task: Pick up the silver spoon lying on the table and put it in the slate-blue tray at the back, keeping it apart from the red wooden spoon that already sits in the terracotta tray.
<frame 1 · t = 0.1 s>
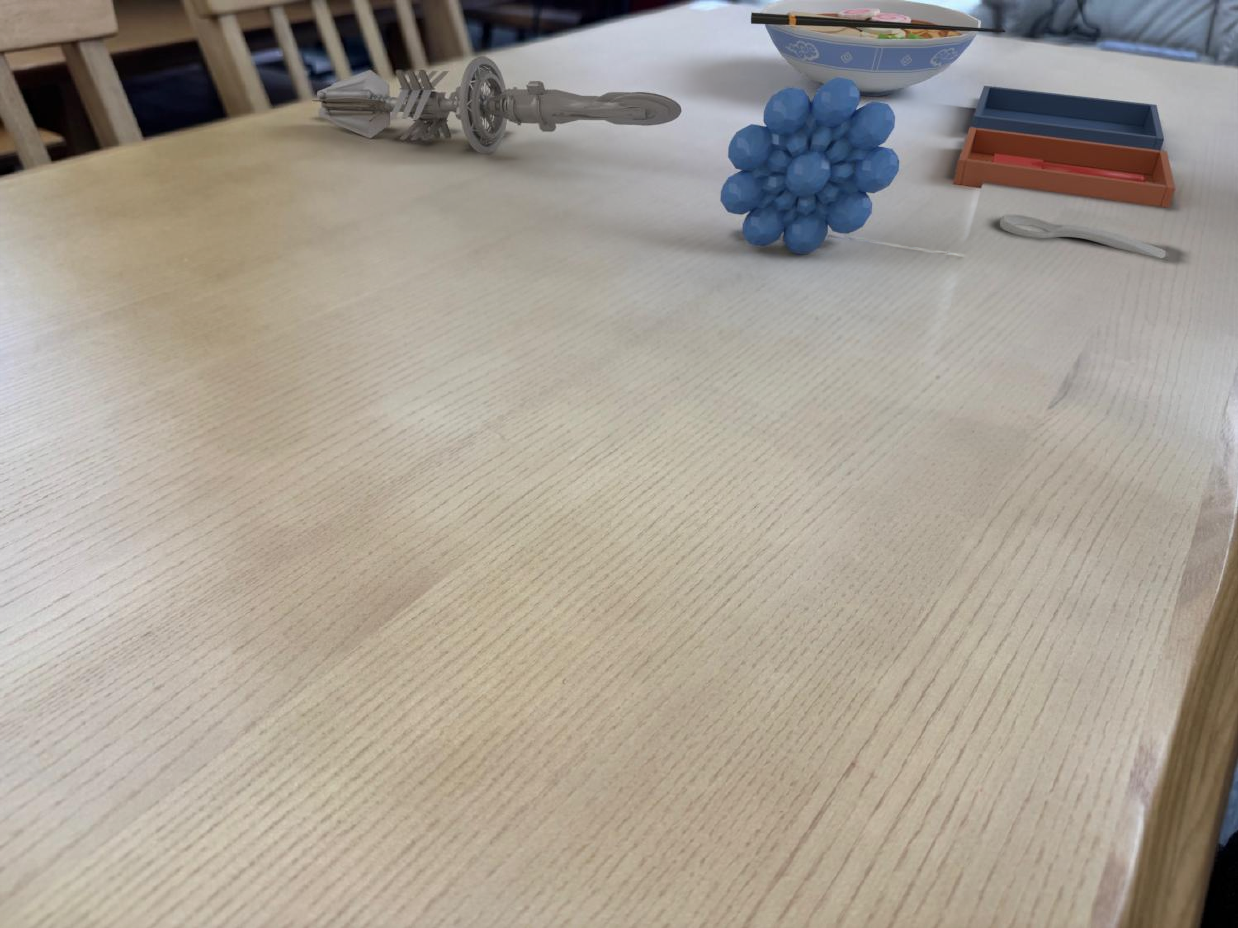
spaceship: (488, 154, 87), on the table
spoon: (1080, 254, 72), on the table
blue tray: (1060, 135, 95), on the table
ramen bowl: (858, 90, 108), on the table
blue beaded flower: (798, 251, 71), on the table
terracotta tray: (1056, 183, 84), on the table
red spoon: (1058, 179, 84), resting on terracotta tray
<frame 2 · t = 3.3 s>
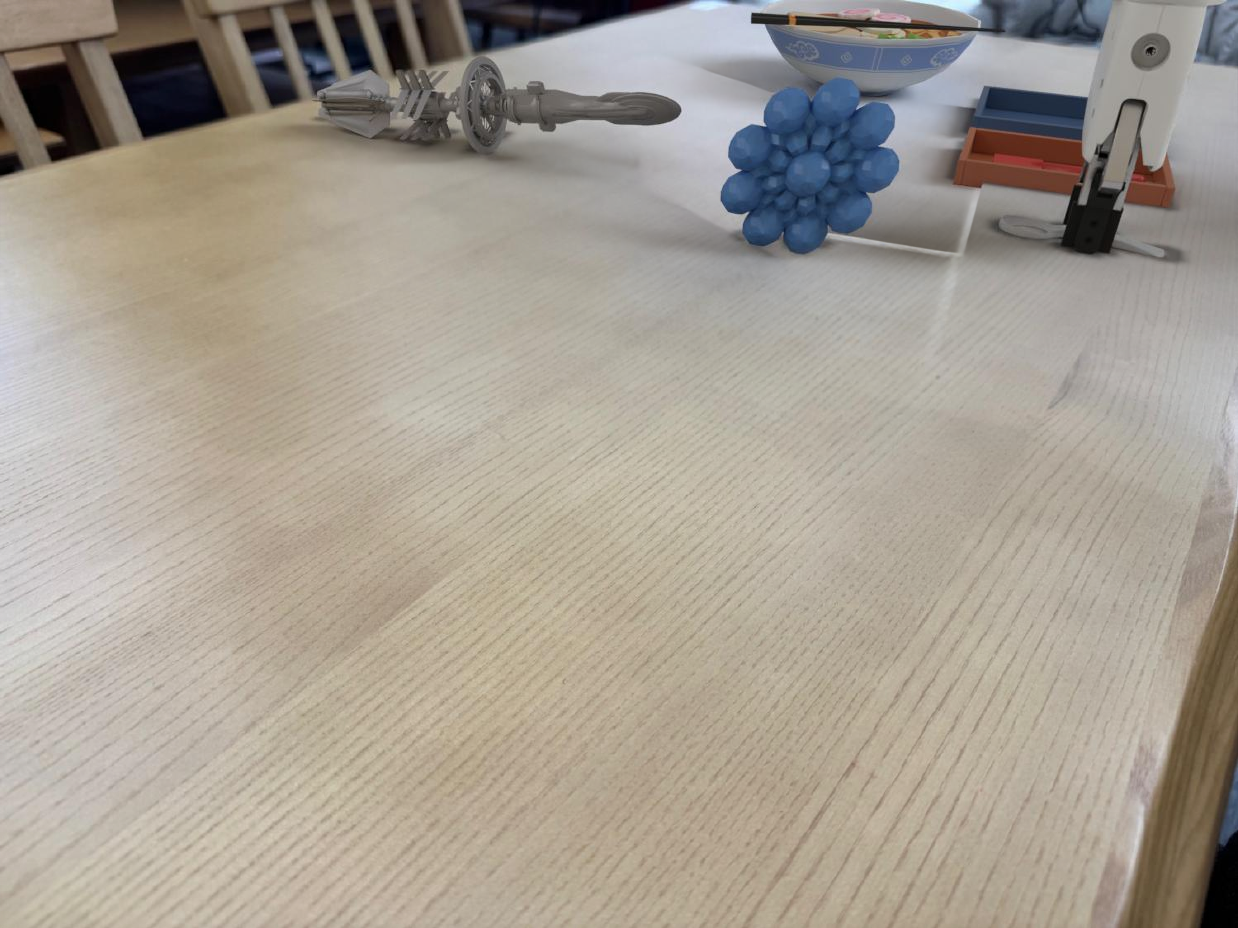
hand: (1082, 248, 72), 0 cm above the table, tool pointing down, fingers closed on spoon, 2 cm apart
spoon: (1080, 254, 72), on the table, touching gripper
everything else where it was.
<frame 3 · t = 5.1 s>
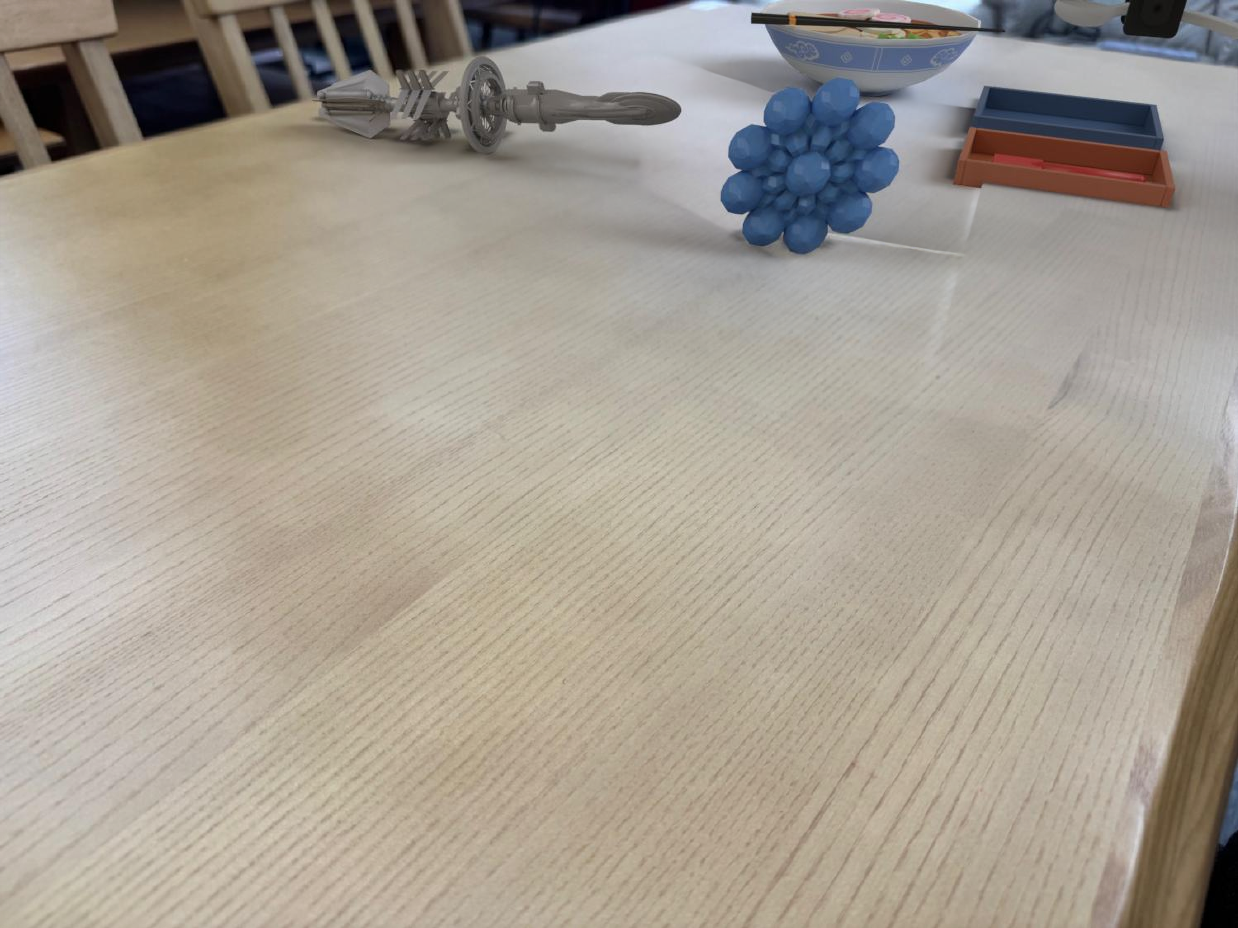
hand: (1147, 28, 66), 15 cm above the table, tool pointing down, fingers closed on spoon, 2 cm apart
spoon: (1144, 35, 66), point 14 cm above the table, touching gripper
everything else where it was.
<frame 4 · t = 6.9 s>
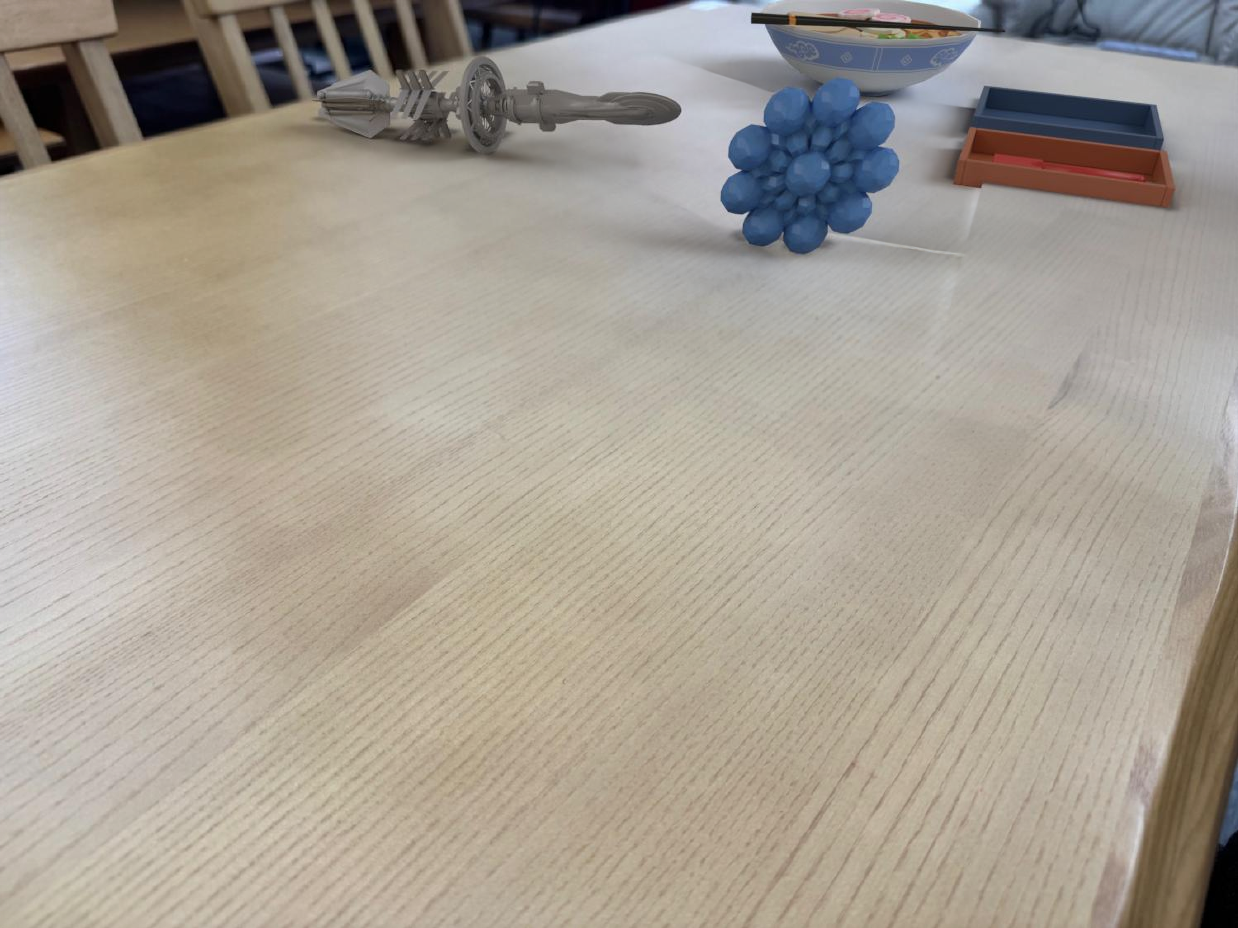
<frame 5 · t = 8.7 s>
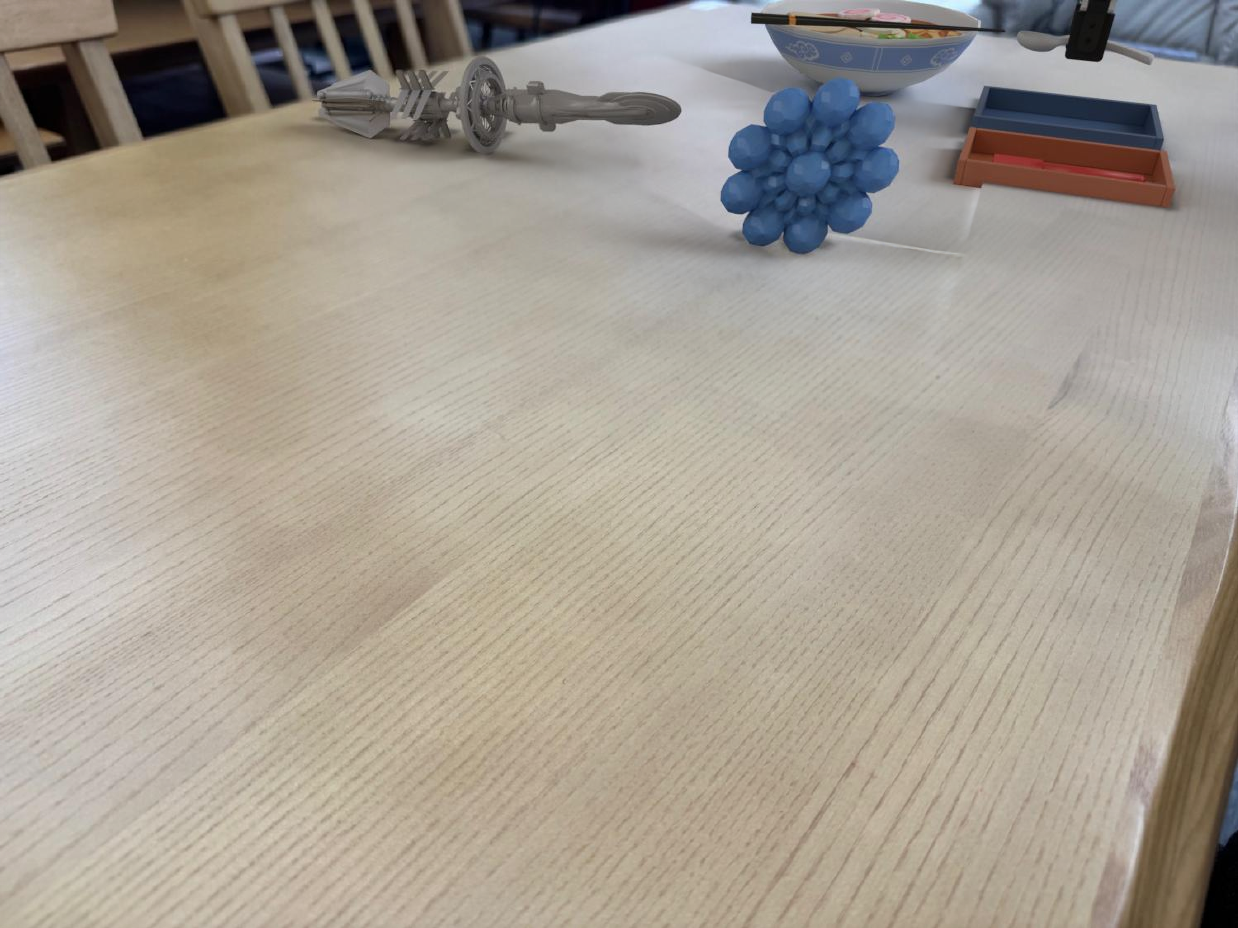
hand: (1083, 54, 91), 7 cm above the table, tool pointing down, fingers closed on spoon, 2 cm apart
spoon: (1080, 58, 91), point 7 cm above the table, touching gripper
everything else where it was.
when the fingers open (1 cm above the table, at t = 10.6 s): spoon stays where it is, resting on blue tray.
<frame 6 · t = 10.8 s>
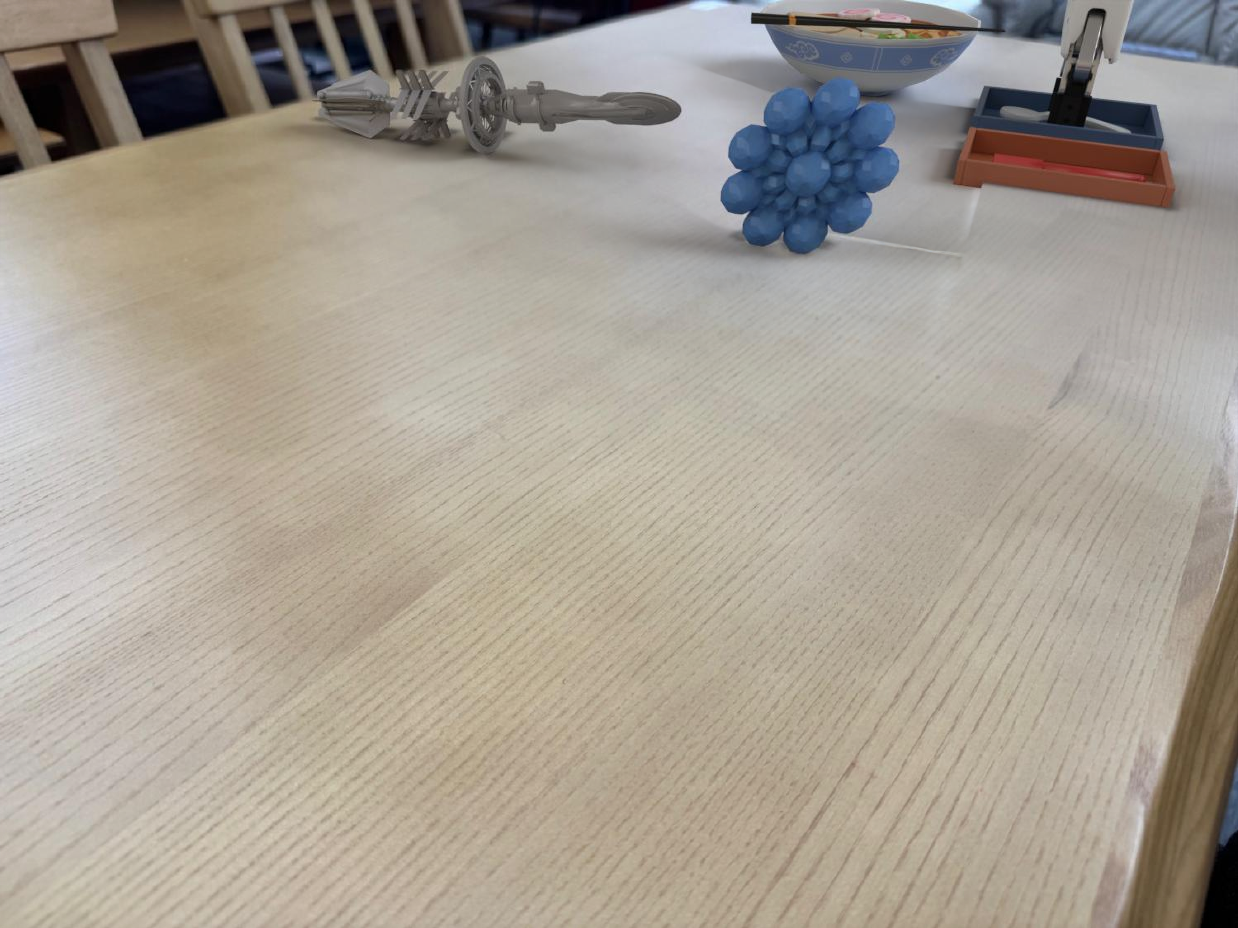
hand: (1062, 128, 95), 1 cm above the table, tool pointing down, fingers open, 5 cm apart
spoon: (1061, 133, 95), resting on blue tray
everything else where it was.
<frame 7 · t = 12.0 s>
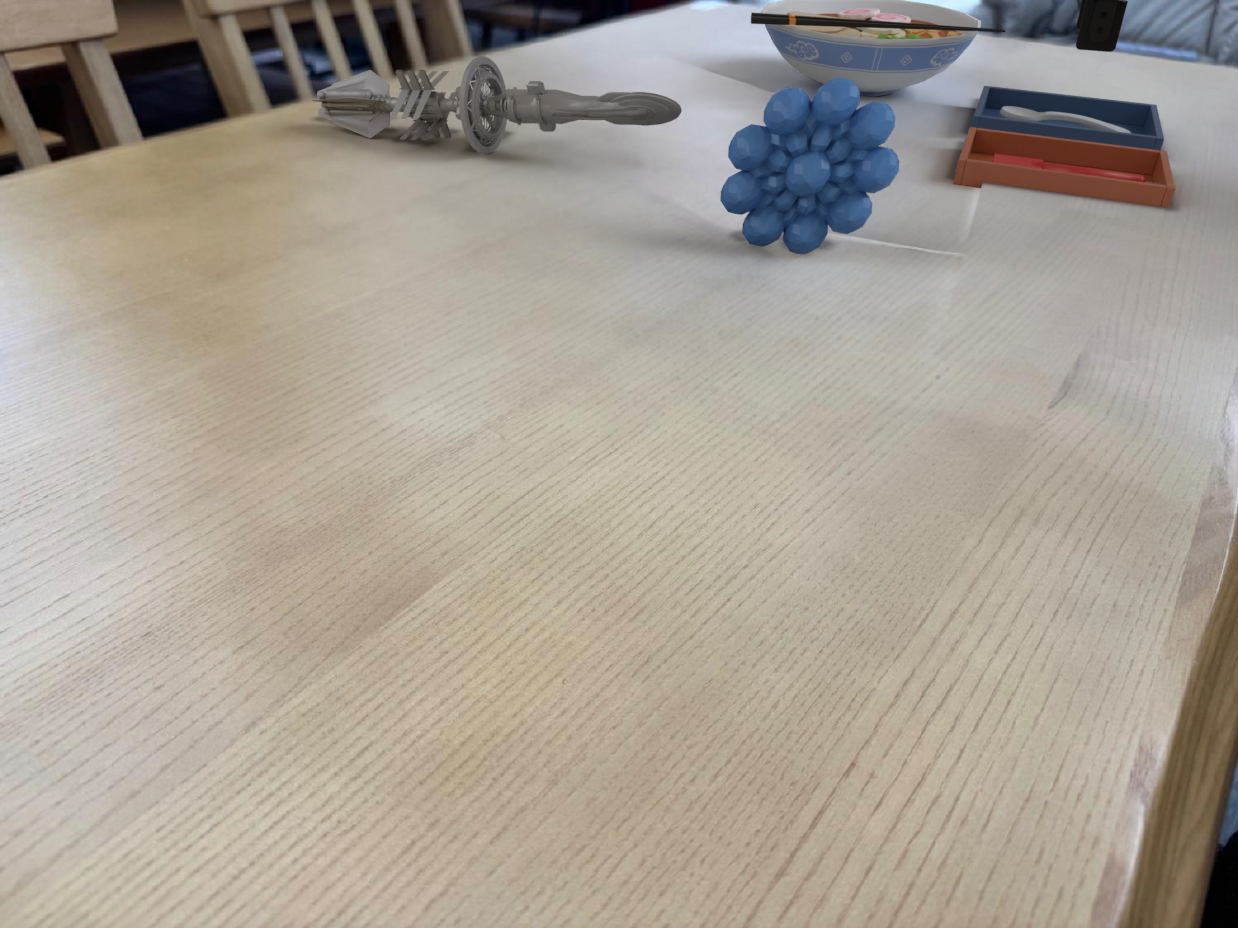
hand: (1094, 39, 90), 9 cm above the table, tool pointing down, fingers open, 9 cm apart
nothing on the table moved.
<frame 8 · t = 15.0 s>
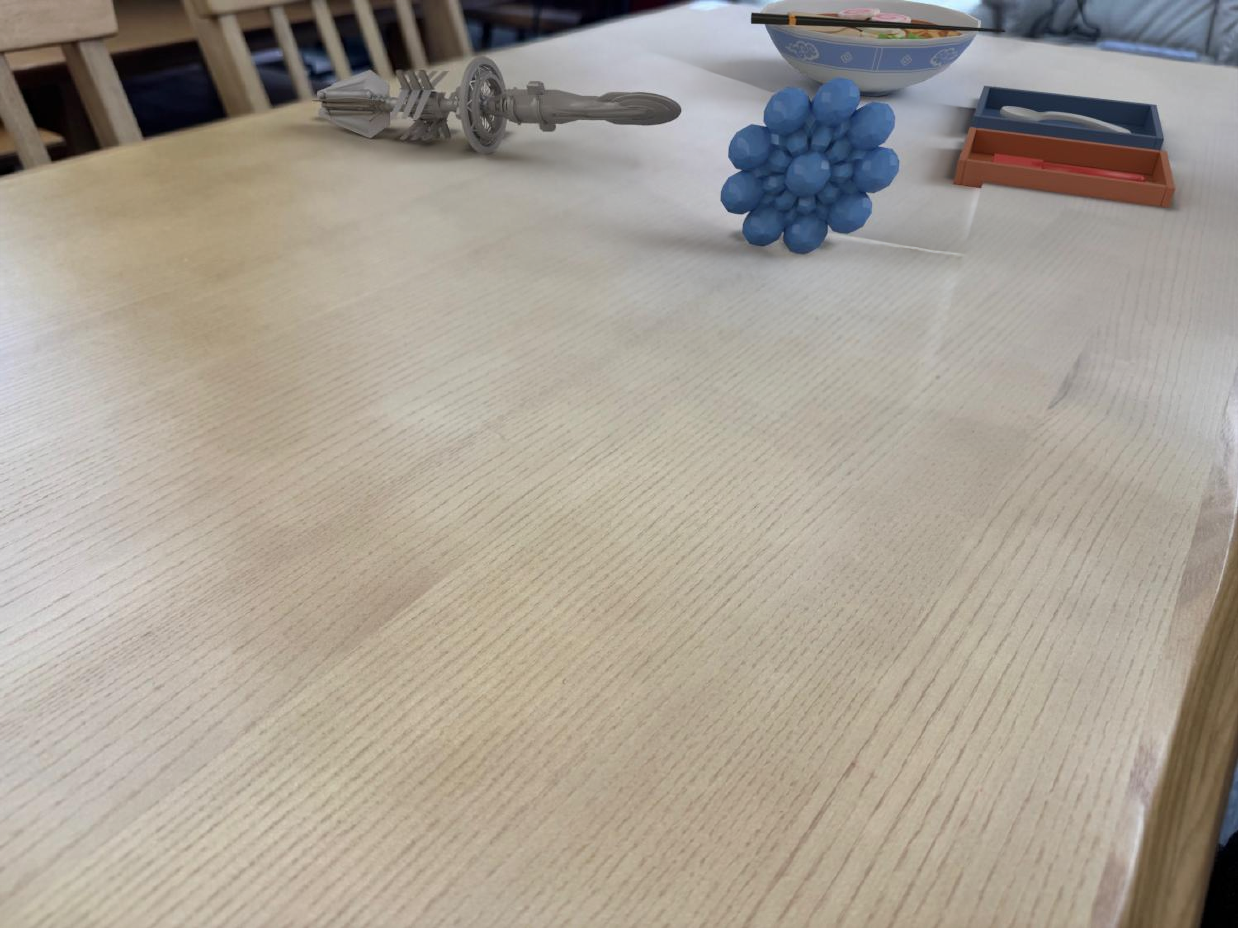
nothing on the table moved.
at the end: spoon inside the target area in the blue tray (0.1 cm from its centre), point 0.2 cm above the blue tray's base; the gripper is holding nothing; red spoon inside the target area in the terracotta tray (0.0 cm from its centre), point 0.4 cm above the terracotta tray's base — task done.
